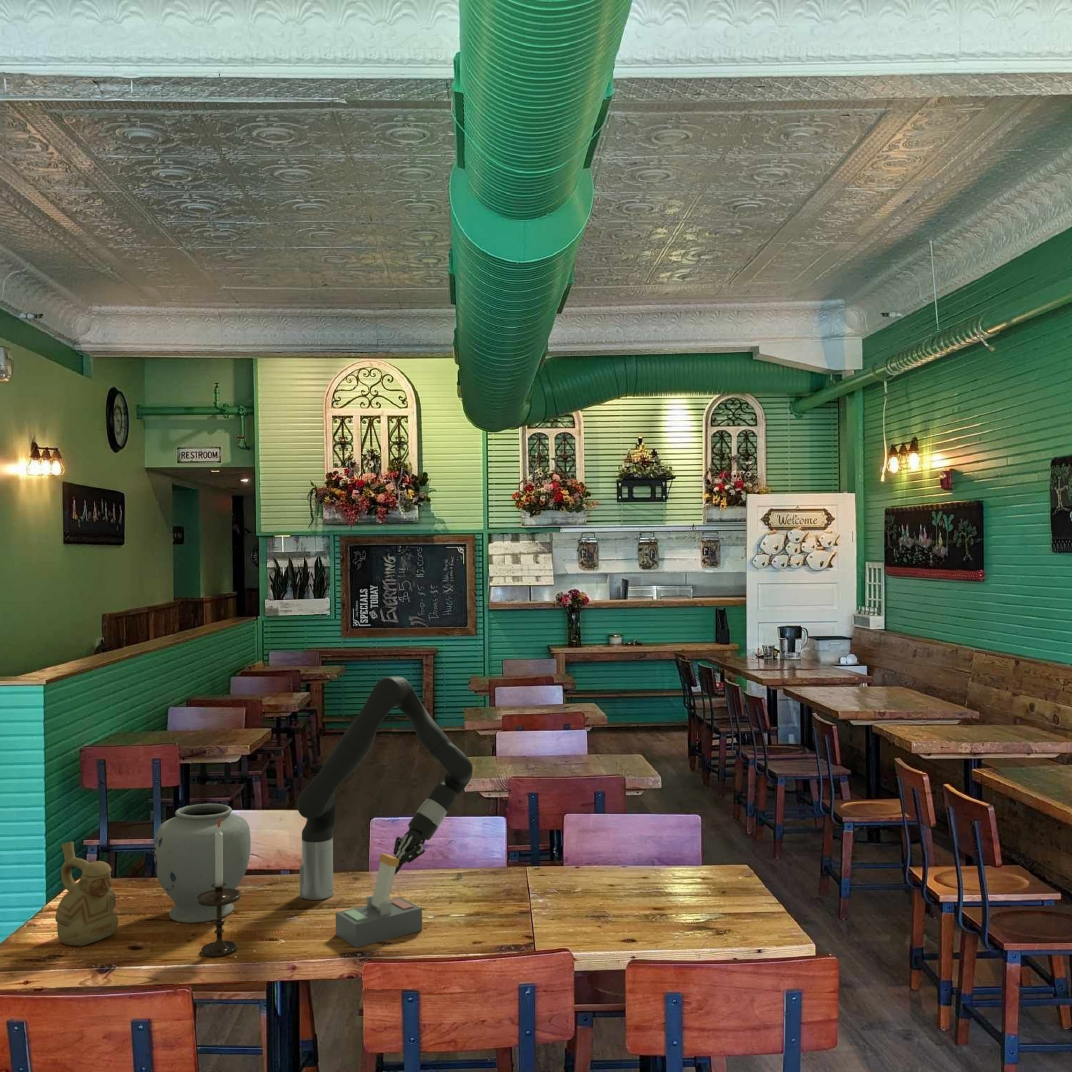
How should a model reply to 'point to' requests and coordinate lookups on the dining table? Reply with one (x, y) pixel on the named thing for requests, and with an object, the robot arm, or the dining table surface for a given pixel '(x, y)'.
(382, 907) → the switch box
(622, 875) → the dining table surface
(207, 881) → the ceramic vase
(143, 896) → the dining table surface
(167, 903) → the dining table surface
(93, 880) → the ceramic vessel
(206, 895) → the candlestick
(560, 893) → the dining table surface
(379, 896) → the lever
